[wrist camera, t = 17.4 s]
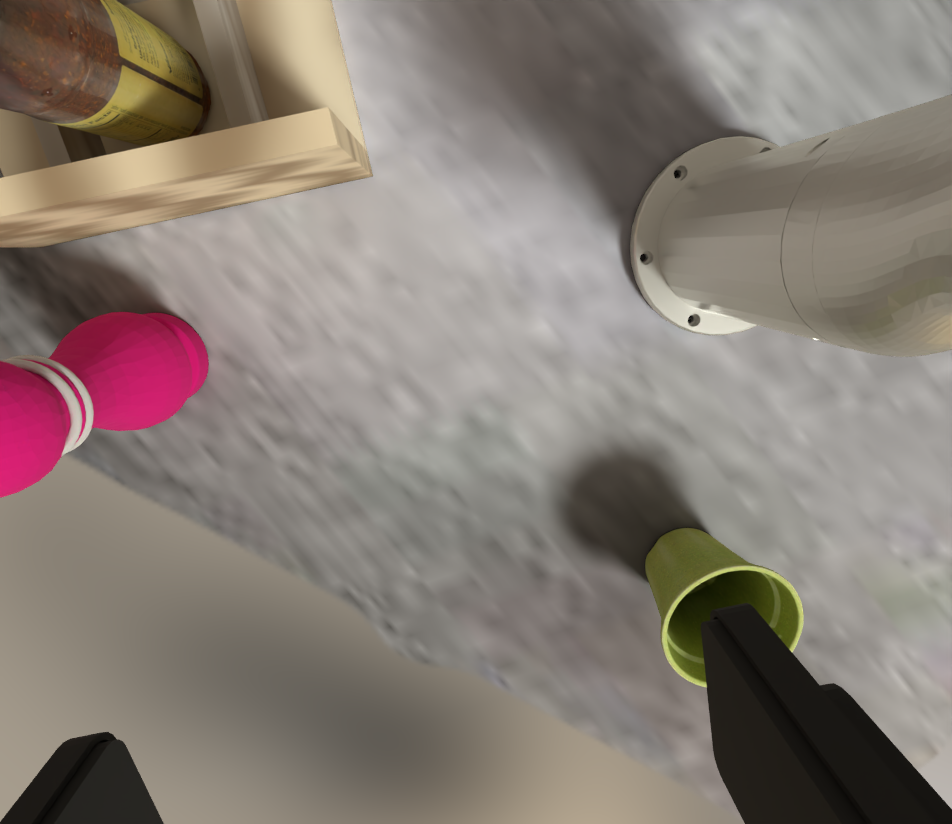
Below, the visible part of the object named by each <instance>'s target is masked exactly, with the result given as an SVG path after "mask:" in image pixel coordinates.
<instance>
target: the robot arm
mask: <svg viewBox="0 0 952 824" xmlns="http://www.w3.org/2000/svg"><path fill="white" fill-rule="evenodd" d="M675 170H676V171H678V173H679V176H678V178H675V177H674V171H675ZM630 254H631V266H632V269H633V273H634V277H635V280H636V283H637V285H638V287H639V289H640V291H641V293H642V295H643V297H644V298H645V300H646V301H647V302H648V303H649V305H650V306H651V307H652V309H653V310H654V311H655V312H657V313H658V314H659V315H660V316H661V317H663V318H664V319H665V320H666V321H668V322H670V323H672V324H674V325H675V326H677V327H679V328H681V329H684V330H687V331H690V332H693V333H699V334H704V335H729V334H734V333H738V332H743V331H746V330H748V329H751V328H753V327H756V326H758V325H759V326H763V327H767V328H771V329H774V330H778V331H782V332H786V333H790V334H794V335H798V336H802V337H806V338H809V339H813V340H817V341H821V342H825V343H829V344H833V345H837V346H840V347H844V348H850V349H854V350H859V351H863V352H867V353H871V354H877V355H884V356H896V357H913V356H923V355H928V354H934V353H939V352H944V351H948V350H952V94H951V95H948V96H945V97H942V98H939V99H936V100H933V101H930V102H927V103H924V104H920V105H917V106H914V107H911V108H907V109H904V110H901V111H897V112H894V113H891V114H888V115H884V116H881V117H879V118H876V119H872V120H869V121H866V122H862V123H859V124H856V125H852V126H849V127H846V128H842V129H839V130H836V131H832V132H829V133H826V134H822V135H819V136H816V137H812V138H809V139H805V140H802V141H799V142H795V143H792V144H789V145H785V146H782V147H779V146H778V145H776V144H774V143H771V142H768V141H765V140H762V139H759V138H753V137H743V136H736V137H727V138H720V139H716V140H713V141H710V142H707V143H704V144H701V145H699V146H697V147H695V148H692V149H690V150H688V151H687V152H685V153H684V154H682V155H681V156H679V157H678V158H676V159H675V160H673V161H672V162H671V163H670V164H669V165H668V166H667V167H666V168H665V169H664V170H663V171H662V172H660V173H659V174H658V175H657V177H656V178H655V180H654V181H653V182H652V184H651V185H650V187H649V188H648V189H647V191H646V192H645V194H644V196H643V199H642V201H641V203H640V205H639V207H638V209H637V212H636V215H635V219H634V222H633V226H632V232H631V241H630ZM641 254H645V256H646V258H645V260H644V261H643V262H642V261H641V260H640V256H641ZM690 315H691V316H692V320H691V321H690V322H688V318H689V316H690ZM701 636H702V646H703V655H704V665H705V675H706V684H707V694H708V703H709V713H710V723H711V732H712V742H713V751H714V757H715V761H716V764H717V767H718V770H719V772H720V775H721V777H722V779H723V782H724V783H725V785H726V787H727V789H728V791H729V793H730V795H731V797H732V799H733V801H734V803H735V805H736V807H737V809H738V811H739V813H740V815H741V817H742V819H743V821H744V823H745V824H952V809H951V808H950V807H949V806H948V805H947V804H946V802H945V801H944V800H942V798H941V797H940V796H939V795H938V794H937V792H936V791H935V790H934V789H933V788H932V787H931V786H930V785H929V783H928V782H927V781H926V780H925V779H924V778H923V777H922V776H921V774H920V773H919V772H918V771H917V770H916V769H915V768H914V767H913V765H912V764H911V763H910V762H909V761H908V760H907V759H906V758H905V756H904V755H903V754H902V753H901V752H900V751H899V750H898V749H897V747H896V746H895V745H894V744H893V743H892V742H891V741H890V740H889V738H888V737H887V736H886V735H885V734H884V733H883V732H882V731H881V729H880V728H879V727H878V726H877V725H876V724H875V723H874V722H873V721H872V719H871V718H870V717H869V716H868V715H867V714H866V713H865V712H864V710H863V709H862V708H861V707H860V706H859V705H858V704H857V703H856V701H855V700H854V699H853V698H852V697H851V696H850V695H849V694H848V693H847V692H846V691H845V690H844V689H843V688H841V687H840V686H838V685H836V684H834V683H833V684H825V685H819V684H818V683H817V682H816V681H815V679H814V678H813V677H812V676H811V675H810V673H809V672H808V671H807V670H806V669H805V668H804V666H803V665H802V664H801V663H800V662H799V660H798V659H797V658H796V657H795V656H794V654H793V653H792V652H791V651H790V650H789V648H788V647H787V646H786V645H785V644H784V643H783V641H782V640H781V639H780V638H779V637H778V635H777V634H776V633H775V632H774V631H773V629H772V628H771V627H770V626H769V625H768V624H767V622H766V621H765V620H764V619H763V618H762V616H761V615H760V614H759V613H758V612H757V610H756V609H755V608H754V607H753V606H752V605H751V604H749V603H743V604H739V605H734V606H729V607H724V608H719V609H714V610H712V611H711V613H710V621H705V622H702V623H701ZM0 824H163V821H162V819H161V817H160V815H159V813H158V811H157V809H156V807H155V805H154V803H153V801H152V799H151V797H150V795H149V793H148V790H147V789H146V786H145V784H144V782H143V780H142V778H141V776H140V774H139V772H138V770H137V768H136V766H135V764H134V762H133V760H132V757H131V755H130V753H129V751H128V749H127V747H126V745H125V744H124V743H123V741H120V740H117V739H116V738H115V737H114V735H113V734H110V733H109V732H103V733H97V734H92V735H88V736H82V737H77V738H72V739H69V740H67V741H65V742H64V743H63V744H62V745H61V746H60V747H59V748H58V749H57V750H56V751H55V753H54V754H53V755H52V756H51V758H50V759H49V760H48V762H47V763H46V764H45V765H44V767H43V768H42V769H41V770H40V772H39V773H38V774H37V776H36V777H35V778H34V779H33V781H32V782H31V783H30V785H29V786H28V787H27V788H26V790H25V791H24V792H23V794H22V795H21V796H20V797H19V799H18V800H17V801H16V802H15V804H14V805H13V806H12V808H11V809H10V810H9V811H8V813H7V814H6V815H5V817H4V818H3V819H2V820H1V822H0Z"/></svg>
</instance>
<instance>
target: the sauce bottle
mask: <svg viewBox="0 0 952 824" xmlns="http://www.w3.org/2000/svg"><path fill="white" fill-rule="evenodd" d="M210 105H211V98H210V89H209V86H208V82H207V80H206V78H205V77H204V74H203V72H202V70H201V68H200V66H199V65H198V63H197V61H196V59H195V58H194V57H193V56H192V54H191V53H189V52H188V51H187V50H185V49H184V48H183V47H182V46H181V45H180V44H179V43H178V42H177V41H176V40H175V39H174V38H172V37H171V36H170V35H168V34H167V33H165V32H164V31H162V30H161V29H159V28H158V27H156V26H155V25H153V24H152V23H150V22H149V21H147V20H145V19H144V18H142V17H141V16H139V15H138V14H136V13H135V12H133V11H132V10H130V9H129V8H127V7H125V6H124V5H122V4H121V3H119V2H118V1H116V0H0V109H4V110H9V111H13V112H18V113H22V114H25V115H28V116H30V117H33V118H36V119H39V120H42V121H44V122H48V123H52V124H56V125H60V126H64V127H69V128H73V129H77V130H81V131H85V132H89V133H93V134H97V135H101V136H105V137H109V138H113V139H117V140H121V141H125V142H129V143H133V144H137V145H141V146H145V147H146V146H151V145H155V144H160V143H164V142H169V141H174V140H178V139H183V138H188V137H192V136H197V135H198V134H199V132H200V131H201V130H202V129H203V127H204V124H205V122H206V120H207V117H208V112H209V110H210Z"/></svg>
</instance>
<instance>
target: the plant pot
mask: <svg viewBox="0 0 952 824" xmlns="http://www.w3.org/2000/svg"><path fill="white" fill-rule="evenodd" d="M645 570H646V575H647V578H648V581H649V584H650V587H651V589H652V592H653V595H654V598H655V601H656V604H657V607H658V610H659V613H660V616H661V644H662V648H663V651H664V654H665V656H666V658H667V660H668V662H669V663H670V665H671V666H672V668H673V669H674V670H675V671H676V672H677V673H678V674H679V675H680V676H682V677H683V678H685V679H686V680H688V681H690V682H692V683H694V684H696V685H699V686H703V687H707V684H706V675H705V665H704V655H703V646H702V636H701V623H702V622H705V621H710V613H711V611H712V610H714V609H719V608H724V607H729V606H734V605H739V604H743V603H749V604H751V605H752V606H753V607H754V608H755V609H756V610H757V612H758V613H759V614H760V615H761V616H762V618H763V619H764V620H765V621H766V622H767V624H768V625H769V626H770V627H771V628H772V629H773V631H774V632H775V633H776V634H777V635H778V637H779V638H780V639H781V640H782V641H783V643H784V644H785V645H786V646H787V647H788V648H789V650H790V651H791V652H793V650H794V648H795V647H796V645H797V642H798V640H799V637H800V635H801V632H802V628H803V608H802V604H801V601H800V598H799V596H798V594H797V592H796V590H795V589H794V587H793V586H792V585H791V584H790V583H789V582H788V581H787V580H786V579H785V578H784V577H782V576H781V575H779V574H778V573H776V572H774V571H773V570H770V569H768V568H765V567H762V566H758V565H754V564H751V563H748V562H747V561H745V560H744V559H742V558H741V557H740V556H738V555H737V554H735V553H734V552H732V551H731V550H729V549H728V548H727V547H725V546H724V545H723V544H721V543H720V542H719V541H717V540H716V539H714V538H713V537H712V536H710V535H709V534H707V533H705V532H703V531H701V530H698V529H693V528H681V529H676V530H673V531H671V532H668V533H666V534H665V535H663V536H662V537H660V538H659V539H658V541H657V542H656V544H655V545H654V547H653V548H652V549H651V551H650V552H649V553H648V554H647V557H646V562H645Z"/></svg>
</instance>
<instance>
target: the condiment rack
mask: <svg viewBox="0 0 952 824" xmlns="http://www.w3.org/2000/svg"><path fill="white" fill-rule="evenodd" d="M116 1H118V2H119V3H121V4H122V5H124V6H125V7H127V8H129V9H130V10H132V11H133V12H135V13H136V14H138V15H139V16H141V17H142V18H144V19H145V20H147V21H149V22H150V23H152V24H153V25H155V26H156V27H158V28H159V29H161V30H162V31H164V32H165V33H167V34H168V35H170V36H171V37H172V38H174V39H175V40H176V41H177V42H178V43H179V44H180V45H181V46H182V47H183V48H184V49H185V50H187V51H188V52H189V53H191V54H192V56H193V57H194V58H195V59H196V61H197V63H198V65H199V66H200V68H201V70H202V72H203V74H204V77H205V78H206V80H207V82H208V86H209V89H210V98H211V105H210V110H209V112H208V117H207V120H206V122H205V124H204V127H203V129H202V130H201V131H200V132H199V134H198V135H197V136H192V137H188V138H183V139H178V140H174V141H169V142H164V143H160V144H155V145H151V146H146V147H145V146H141V145H137V144H133V143H129V142H125V141H121V140H117V139H113V138H109V137H105V136H101V135H97V134H93V133H89V132H85V131H81V130H77V129H73V128H69V127H64V126H60V125H56V124H52V123H48V122H44V121H42V120H39V119H36V118H33V117H30V116H28V115H25V114H22V113H18V112H13V111H9V110H4V109H0V169H1V171H2V174H3V176H4V177H3V178H0V247H45V246H50V245H54V244H59V243H64V242H68V241H73V240H78V239H82V238H87V237H92V236H96V235H101V234H106V233H111V232H115V231H120V230H125V229H129V228H134V227H139V226H143V225H148V224H153V223H157V222H162V221H167V220H171V219H176V218H181V217H185V216H190V215H195V214H199V213H204V212H209V211H213V210H218V209H223V208H227V207H232V206H237V205H241V204H246V203H251V202H255V201H260V200H265V199H269V198H274V197H279V196H283V195H288V194H293V193H297V192H302V191H307V190H311V189H316V188H321V187H325V186H330V185H335V184H339V183H344V182H349V181H353V180H358V179H363V178H367V177H372V176H373V174H372V170H371V166H370V162H369V157H368V153H367V149H366V145H365V141H364V136H363V132H362V128H361V124H360V119H359V115H358V111H357V107H356V103H355V98H354V94H353V90H352V86H351V81H350V77H349V73H348V69H347V65H346V60H345V56H344V52H343V48H342V43H341V39H340V35H339V31H338V27H337V22H336V18H335V14H334V10H333V5H332V1H331V0H116Z"/></svg>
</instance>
